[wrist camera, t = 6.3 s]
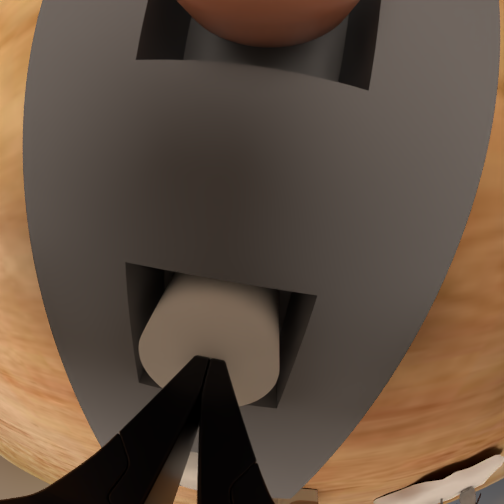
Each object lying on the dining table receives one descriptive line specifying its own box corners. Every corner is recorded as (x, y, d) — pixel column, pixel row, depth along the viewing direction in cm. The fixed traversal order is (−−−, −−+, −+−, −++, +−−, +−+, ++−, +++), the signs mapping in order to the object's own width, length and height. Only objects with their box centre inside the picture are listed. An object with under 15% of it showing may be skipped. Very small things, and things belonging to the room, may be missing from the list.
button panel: (290, 452, 18) (290, 498, 15) (128, 423, 18) (112, 466, 15) (437, -16, 6) (492, -46, 2) (132, -59, 6) (85, -100, 2)
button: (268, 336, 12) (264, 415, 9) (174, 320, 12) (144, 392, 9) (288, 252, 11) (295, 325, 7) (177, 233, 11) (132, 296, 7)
